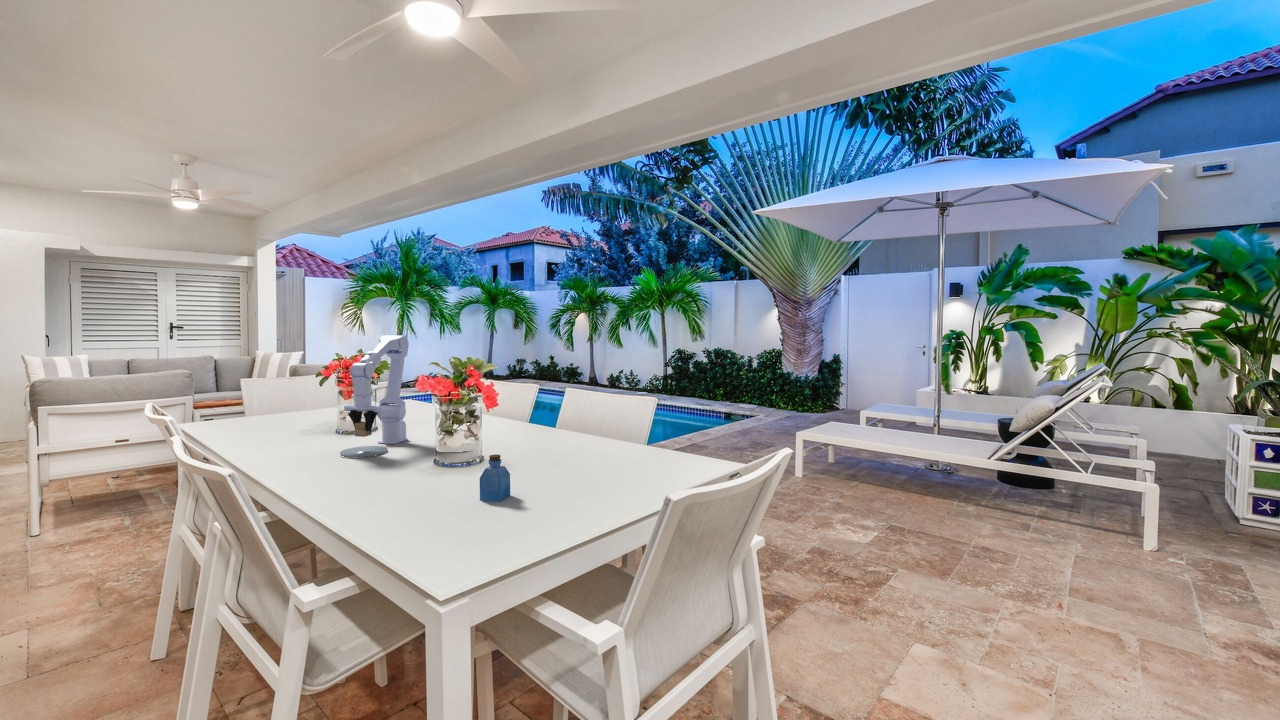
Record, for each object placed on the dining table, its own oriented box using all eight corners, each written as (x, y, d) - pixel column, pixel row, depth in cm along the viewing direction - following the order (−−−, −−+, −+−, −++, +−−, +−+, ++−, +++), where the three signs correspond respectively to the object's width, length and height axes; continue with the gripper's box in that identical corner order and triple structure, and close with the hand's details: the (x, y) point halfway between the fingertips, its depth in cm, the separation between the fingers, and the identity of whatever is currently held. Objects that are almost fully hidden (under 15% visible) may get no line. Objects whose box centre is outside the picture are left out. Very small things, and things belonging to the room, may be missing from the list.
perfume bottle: (500, 501, 154) (500, 458, 153) (479, 500, 155) (479, 457, 154) (510, 495, 160) (509, 453, 159) (490, 493, 161) (489, 452, 160)
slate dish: (359, 447, 220) (359, 445, 220) (396, 449, 217) (396, 446, 217) (329, 456, 204) (329, 454, 204) (369, 459, 201) (369, 456, 201)
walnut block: (362, 434, 213) (361, 421, 212) (371, 434, 212) (371, 421, 211) (355, 436, 209) (354, 423, 208) (364, 436, 208) (364, 423, 208)
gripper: (337, 395, 207) (338, 431, 208) (372, 396, 204) (373, 433, 205) (350, 393, 214) (351, 428, 215) (385, 394, 211) (385, 429, 212)
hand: (363, 430), depth 210 cm, fingers closed on walnut block, 4 cm apart
